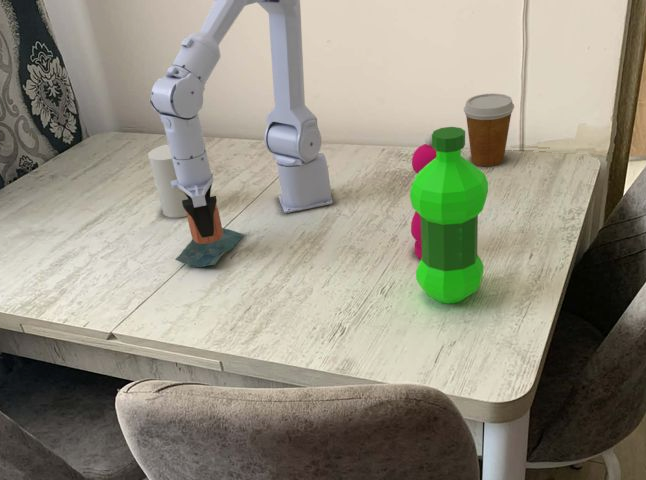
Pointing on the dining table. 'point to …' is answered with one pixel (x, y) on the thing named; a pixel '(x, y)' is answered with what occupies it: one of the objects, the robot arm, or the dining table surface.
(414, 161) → the pepper mill
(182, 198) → the white cylinder
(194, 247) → the terrain model
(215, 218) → the faceted terracotta tumbler
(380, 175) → the dining table surface
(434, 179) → the plastic bottle
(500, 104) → the disposable coffee cup
